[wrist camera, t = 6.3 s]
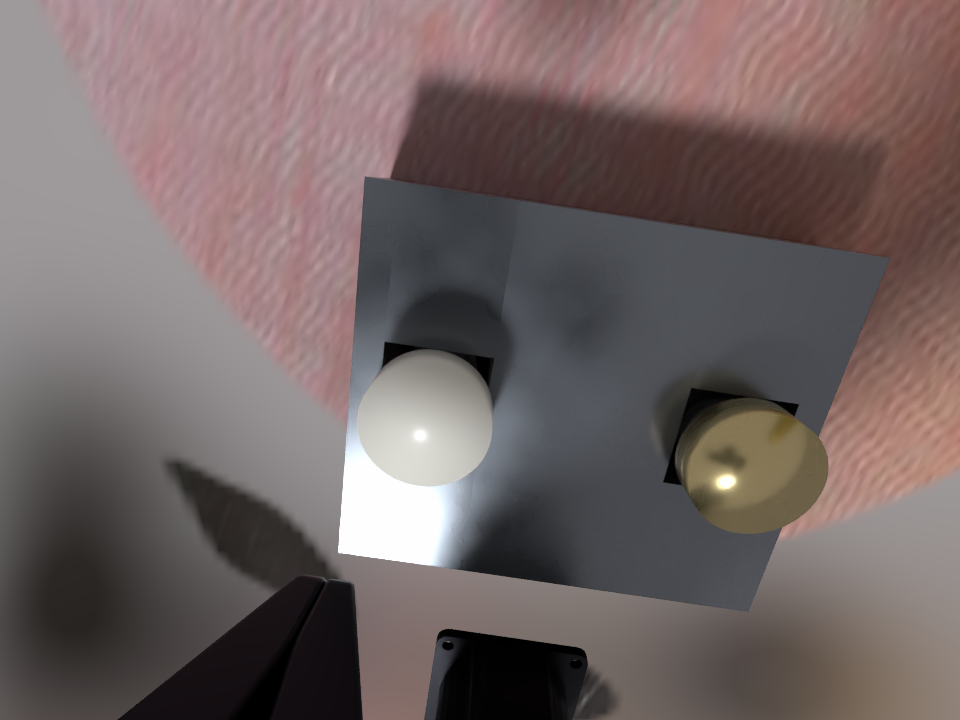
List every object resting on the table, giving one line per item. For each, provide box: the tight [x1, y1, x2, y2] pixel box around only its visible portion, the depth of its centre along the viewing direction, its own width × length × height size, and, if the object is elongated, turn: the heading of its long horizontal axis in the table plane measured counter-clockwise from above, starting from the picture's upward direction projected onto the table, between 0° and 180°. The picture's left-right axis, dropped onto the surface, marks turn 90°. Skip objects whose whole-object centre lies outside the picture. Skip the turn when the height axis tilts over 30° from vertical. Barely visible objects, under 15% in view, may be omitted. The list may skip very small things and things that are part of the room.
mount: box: [339, 177, 890, 612], centre depth 17 cm, size 12×14×3 cm
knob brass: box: [675, 388, 828, 534], centre depth 16 cm, size 4×4×5 cm
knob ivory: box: [357, 346, 493, 487], centre depth 16 cm, size 4×4×5 cm
